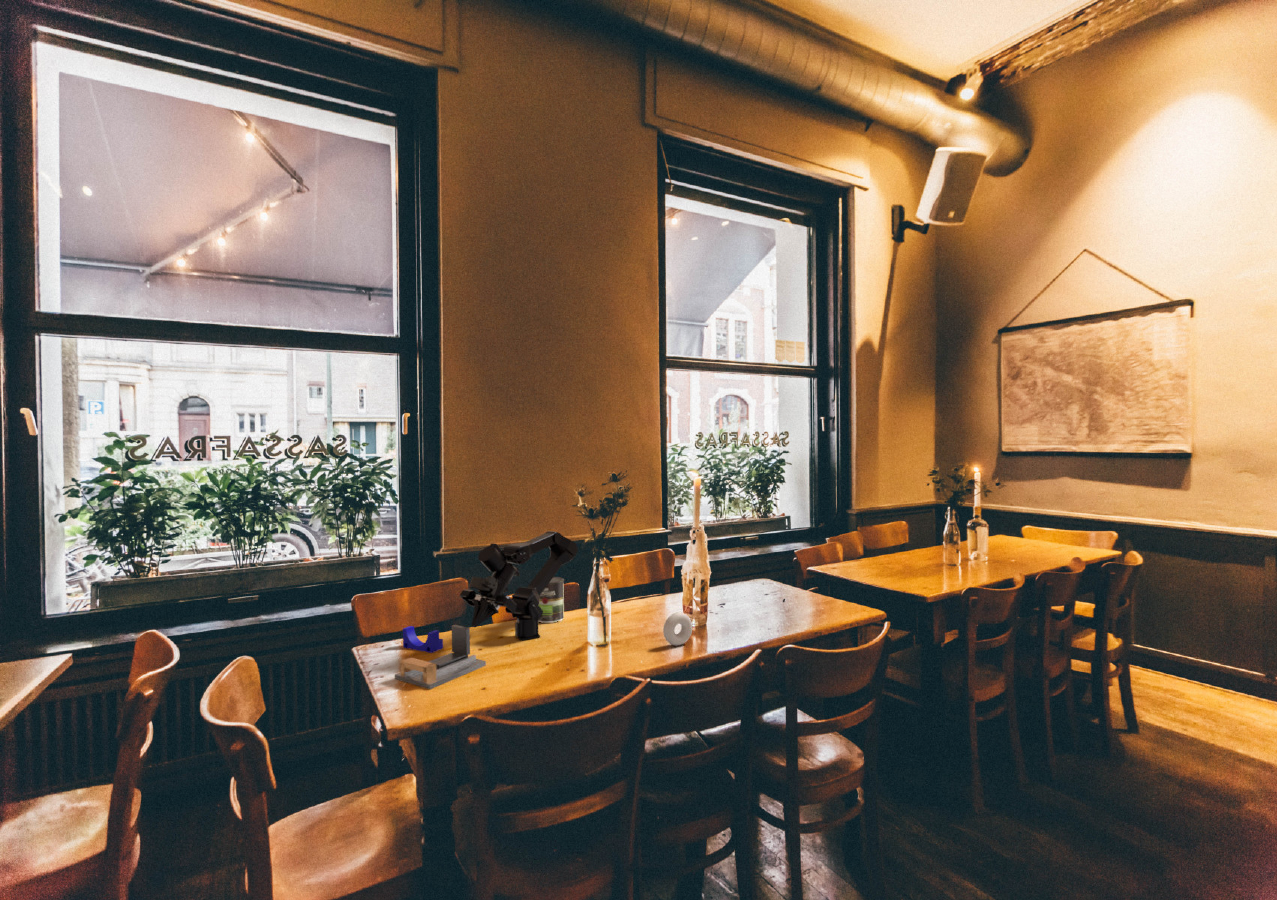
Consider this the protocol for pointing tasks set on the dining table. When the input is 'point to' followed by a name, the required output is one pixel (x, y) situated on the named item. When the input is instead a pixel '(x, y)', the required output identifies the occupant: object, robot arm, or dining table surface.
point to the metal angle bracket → (456, 647)
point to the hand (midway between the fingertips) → (473, 626)
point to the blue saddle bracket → (414, 643)
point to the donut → (670, 626)
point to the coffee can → (552, 601)
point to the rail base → (435, 671)
